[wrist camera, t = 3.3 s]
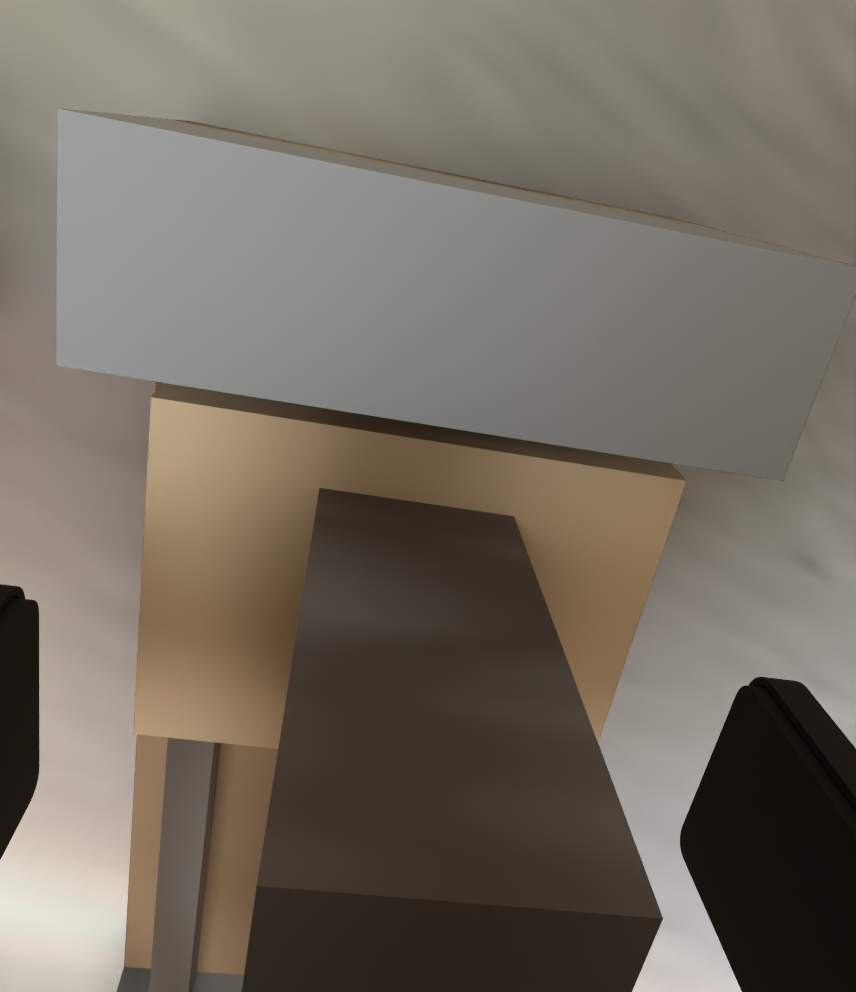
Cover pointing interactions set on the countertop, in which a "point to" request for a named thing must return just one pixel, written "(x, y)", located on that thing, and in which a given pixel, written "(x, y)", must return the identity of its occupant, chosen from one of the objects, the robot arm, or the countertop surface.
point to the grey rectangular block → (432, 297)
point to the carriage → (407, 685)
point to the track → (201, 836)
